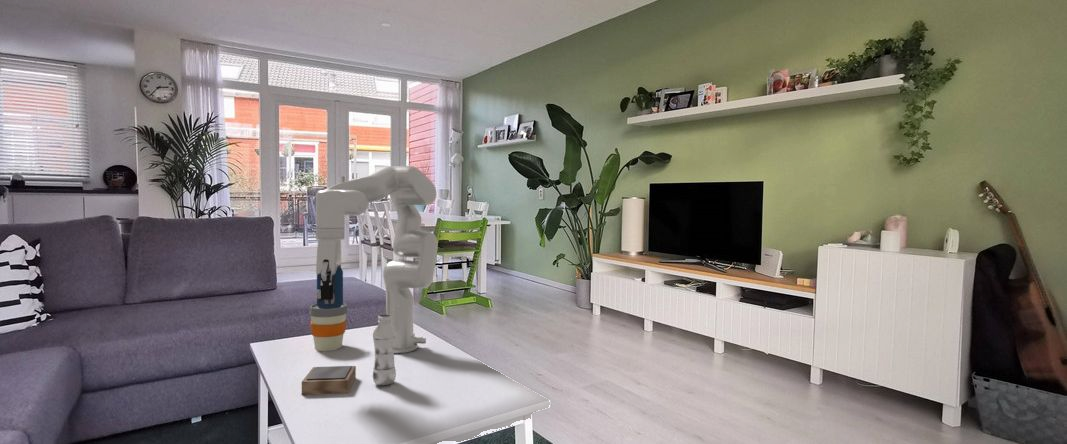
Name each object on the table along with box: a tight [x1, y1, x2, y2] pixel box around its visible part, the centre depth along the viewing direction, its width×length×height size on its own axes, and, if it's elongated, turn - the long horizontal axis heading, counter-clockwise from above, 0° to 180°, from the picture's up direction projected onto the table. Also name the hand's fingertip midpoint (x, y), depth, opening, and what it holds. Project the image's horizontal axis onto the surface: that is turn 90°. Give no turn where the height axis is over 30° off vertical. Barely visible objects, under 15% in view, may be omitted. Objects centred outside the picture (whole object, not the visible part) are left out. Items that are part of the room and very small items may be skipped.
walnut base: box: [301, 365, 357, 396], centre depth 146 cm, size 12×12×4 cm
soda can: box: [316, 264, 344, 310], centre depth 145 cm, size 7×7×12 cm
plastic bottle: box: [372, 313, 397, 386], centre depth 149 cm, size 6×7×20 cm
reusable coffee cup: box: [308, 302, 348, 352], centre depth 183 cm, size 13×13×15 cm
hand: (330, 296), depth 146 cm, fingers closed on soda can, 7 cm apart
